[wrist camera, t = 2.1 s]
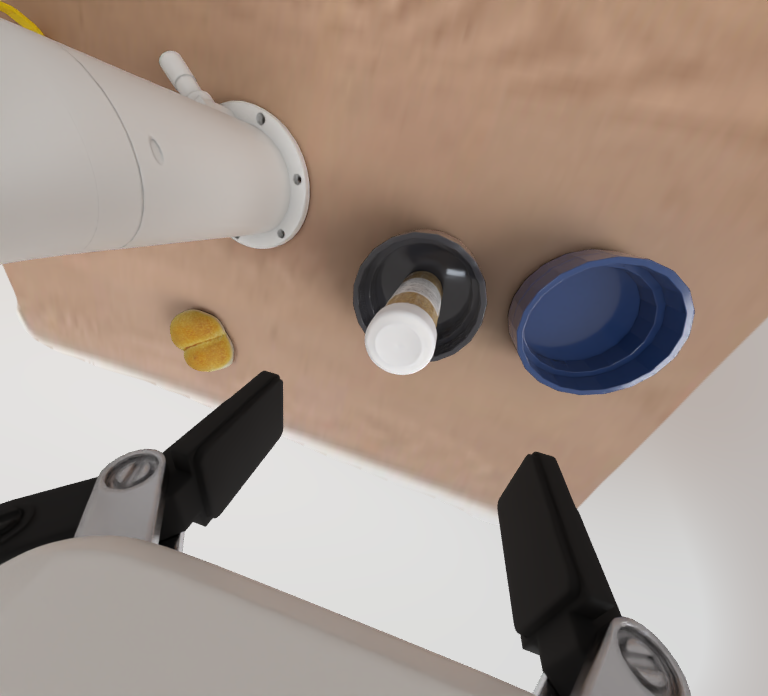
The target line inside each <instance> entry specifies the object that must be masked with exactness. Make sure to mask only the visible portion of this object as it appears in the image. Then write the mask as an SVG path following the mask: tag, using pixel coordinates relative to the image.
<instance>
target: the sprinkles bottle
mask: <svg viewBox="0 0 768 696" xmlns="http://www.w3.org/2000/svg"><path fill="white" fill-rule="evenodd" d="M442 296H443V289H442V285H441V282H440V281H439V279H438V278H437V277H436V276H435V275H433V274H432V273H430V272H427V271H417V272H414V273H411V274H410V275H409V276H407V277H406V278H405V279H404V281H403V282H402V284H401V285H400V287H399V288H398V289H397V290H396V292H395V293H394V294H393V296H392V297H391V298H390V300H389V301H388V302H387V304H386V306H385V307H384V308H382V309H381V310H380V311H379V312H378V313H377V314H376V315H375V316H374V318H373V319H372V320H371V322H370V324H369V325H368V327H367V330H366V333H365V346H366V350H367V352H368V355H369V356H370V358H371V359H372V361H373V362H374V363H375V364H376V365H377V366H378V367H380V368H381V369H383V370H385V371H387V372H389V373H393V374H398V375H407V374H412V373H415V372H417V371H419V370H421V369H423V368H424V367H425V366H426V365H427V364H428V363H429V362H430V360H431V358H432V356H433V354H434V351H435V346H436V339H437V331H436V326H437V320H438V317H439V312H440V306H441V300H442Z"/></svg>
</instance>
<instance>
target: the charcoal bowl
mask: <svg viewBox="0 0 768 696" xmlns="http://www.w3.org/2000/svg"><path fill="white" fill-rule="evenodd" d="M417 271H427V272H430V273H432V274H433V275H435V276H436V277H437V278H438V279H439V281H440V282H441V285H442V289H443V296H442V300H441V306H440V312H439V317H438V320H437V326H436V331H437V339H436V346H435V351H434V354H433V356H432V358H431V360H430V362H431V361H438V360H440V359H443V358H445V357H448V356H451V355H453V354H455V353H456V352H458V351H459V350H460V349H461V348H463V347H464V346H465V345H466V344H468V343H469V342H470V341H471V340H472V338H473V337H474V335H475V334H476V332H477V331H478V329H479V328H480V326H481V324H482V321H483V317H484V314H485V310H486V306H487V296H486V284H485V280H484V278H483V275H482V273H481V270H480V268H479V266H478V264H477V262H476V260H475V257H474V255H473V254H472V252H471V251H470V250H469V249H468V248H467V247H466V246H465V245H464V244H463V243H462V242H461V241H460V240H458V239H457V238H455V237H453V236H450V235H448V234H446V233H444V232H442V231H438V230H428V229H418V230H414V231H410V232H405V233H402V234H399V235H396V236H394V237H391V238H390V239H388V240H387V241H385V242H384V243H382V244H381V245H379V246H378V247H376V248H374V249H373V250H372V252H371V253H370V254H369V255H368V257H367V258H366V259H365V261H364V262H363V263H362V264H361V266H360V268H359V271H358V274H357V277H356V280H355V283H354V292H353V304H354V305H353V306H354V309H355V313H356V316H357V320H358V323H359V325H360V326H361V328H362V329H363V331H364V333H366V330H367V327H368V325H369V324H370V322H371V320H372V319H373V318H374V316H375V315H376V314H377V313H378V312H379V311H380V310H381V309H382V308H384V307H385V306H386V304H387V302H388V301H389V300H390V298H391V297H392V296H393V294H394V293H395V292H396V290H397V289H398V288H399V287H400V285H401V284H402V282H403V281H404V279H405V278H406V277H407V276H409V275H410V274H411V273H414V272H417Z"/></svg>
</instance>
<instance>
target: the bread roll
mask: <svg viewBox="0 0 768 696" xmlns="http://www.w3.org/2000/svg"><path fill="white" fill-rule="evenodd" d="M170 334H171V338H172V341H173V342H174V344H175V345H176V346H177V347H178V348H180V349H181V350H183V351H184V358H185V361H186V362H187V364H188V365H189V366H190V367H191V368H193V369H195V370H198V371H208V372H210V371H215V370H220V369H223V368H226V367H228V366H229V365H231V364H232V361H233V354H234V348H233V344H232V342H231V340H230V338H229V337H228V335H227V334H226V333H225V329H224V327H223V325H222V324H221V322H220V321H219V320H218V319H217V318H216V317H214V316H213V315H210V314H208V313H205V312H202V311H199V310H193V309H191V310H187V311H184V312H182V313H180V314H178V315H177V316H176V317H175V318H174V319H173V320H172V322H171V325H170Z"/></svg>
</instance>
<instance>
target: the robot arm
mask: <svg viewBox="0 0 768 696" xmlns="http://www.w3.org/2000/svg"><path fill="white" fill-rule="evenodd" d="M159 64H160V66H161V68H162V69H163V71H164V72H165V74H166V75H167V77H168V79H169V80H170V82H171V83H172V85H173V86H174V88H175V89H176V90H177V91H178V92H179V93H180V94H178V93H176V92H174V91H171V90H169V89H167V88H164V87H162V86H160V85H157V84H155V83H153V82H150V81H148V80H146V79H143V78H141V77H139V76H136V75H134V74H132V73H129V72H127V71H125V70H122V69H120V68H118V67H115V66H113V65H111V64H108V63H106V62H104V61H101V60H99V59H97V58H94V57H92V56H90V55H87V54H85V53H83V52H80V51H78V50H75V49H73V48H71V47H68V46H66V45H64V44H61V43H59V42H57V41H54V40H52V39H50V38H47V37H45V36H43V35H41V34H38V33H36V32H34V31H31V30H29V29H26V28H24V27H22V26H19V25H17V24H14V23H12V22H10V21H7V20H5V19H2V18H0V264H7V263H13V262H19V261H25V260H31V259H39V258H47V257H54V256H62V255H70V254H78V253H87V252H96V251H105V250H117V249H127V248H136V247H145V246H154V245H163V244H172V243H181V242H190V241H199V240H208V239H218V238H227V237H231V238H232V239H234V240H235V241H237V242H238V243H241V244H243V245H245V246H247V247H252V248H256V249H268V248H274V247H277V246H280V245H283V244H285V243H286V242H288V241H289V240H290V239H292V238H293V237H294V236H295V235H296V233H297V232H298V231H299V229H300V228H301V226H302V224H303V222H304V220H305V217H306V214H307V211H308V205H309V199H310V183H309V177H308V171H307V167H306V164H305V161H304V157H303V154H302V152H301V150H300V148H299V146H298V144H297V142H296V140H295V139H294V137H293V136H292V134H291V133H290V132H289V130H288V129H287V128H286V127H285V125H284V124H283V123H282V122H281V121H280V120H279V119H278V118H277V117H275V116H274V115H272V114H271V113H269V112H268V111H267V110H265V109H263V108H261V107H259V106H257V105H255V104H252V103H248V102H245V101H228V102H225V103H221V104H217V103H215V102H214V100H213V99H212V97H211V96H210V94H209V93H207V92H206V91H202V90H201V88H200V86H199V85H198V83H197V80H196V79H195V77H194V76H193V74H192V73H191V71H190V69H189V68H188V66H187V65H186V63H185V62H184V60H183V58H182V57H181V55H180V54H179V53H177V52H175V51H166V52H164V53H163V54H162V55H161V56H160V58H159ZM300 178H301V182H300ZM284 233H285V235H284ZM282 432H283V381H282V380H281V379H280V377H279V375H277V374H274V373H271V372H267V371H262V372H261V373H260V374H258V375H257V376H256V377H255V378H254V379H252V380H251V381H250V382H249V383H248V384H246V385H245V386H244V387H243V388H242V389H240V390H239V391H238V392H237V393H235V394H234V395H233V396H232V397H231V398H229V399H228V400H226V401H225V402H224V403H222V404H221V405H220V406H219V407H217V408H216V409H215V410H214V411H213V412H212V413H210V414H209V415H208V416H207V417H205V418H204V419H203V420H202V421H201V422H199V423H198V424H197V425H196V426H194V427H193V428H192V429H191V430H190V431H188V432H187V433H186V434H185V435H184V436H182V437H181V438H180V439H179V440H178V441H176V442H175V443H174V444H173V445H171V446H170V447H169V448H168V449H167V450H166V451H164V452H163V453H162V452H159V451H157V450H152V449H144V450H137V451H134V452H130V453H127V454H125V455H123V456H121V457H119V458H117V459H115V460H114V461H113V462H111V463H109V464H108V465H107V466H106V467H105V468H104V469H103V470H102V471H101V473H100V475H99V476H98V477H96V478H92V479H89V480H85V481H81V482H78V483H74V484H70V485H66V486H63V487H59V488H56V489H52V490H48V491H44V492H40V493H37V494H33V495H30V496H26V497H22V498H18V499H15V500H11V501H8V502H5V503H2V504H0V696H691V694H690V690H689V687H688V684H687V681H686V679H685V676H684V674H683V673H682V671H681V669H680V667H679V665H678V663H677V662H676V660H675V659H674V658H673V656H672V655H671V653H670V652H669V651H668V649H667V648H666V647H665V646H664V645H663V644H662V642H661V641H660V640H659V639H658V638H657V637H656V636H655V635H654V634H653V633H652V632H650V631H649V630H648V629H646V628H645V627H644V626H643V625H642V624H640V623H638V622H636V621H635V620H633V619H630V618H626V617H622V616H621V614H620V611H619V609H618V606H617V604H616V602H615V599H614V597H613V594H612V592H611V589H610V587H609V584H608V582H607V580H606V577H605V575H604V572H603V570H602V568H601V565H600V563H599V560H598V558H597V555H596V553H595V551H594V548H593V546H592V543H591V541H590V538H589V536H588V533H587V531H586V529H585V526H584V524H583V521H582V519H581V517H580V514H579V512H578V510H577V508H576V507H575V505H574V502H573V500H572V498H571V495H570V493H569V490H568V488H567V485H566V483H565V480H564V478H563V475H562V473H561V471H560V468H559V466H558V463H557V461H556V459H555V458H554V457H552V456H549V455H546V454H542V453H539V452H534V453H533V454H532V455H531V454H528V455H527V456H526V457H525V459H524V460H523V462H522V464H521V465H520V467H519V468H518V470H517V472H516V473H515V475H514V476H513V478H512V479H511V481H510V483H509V484H508V486H507V487H506V489H505V490H504V492H503V494H502V495H501V497H500V498H499V501H498V516H499V523H500V530H501V537H502V544H503V551H504V558H505V565H506V572H507V579H508V586H509V592H510V600H511V606H512V614H513V620H514V626H515V629H516V631H517V633H519V634H521V641H522V647H523V649H525V650H527V651H530V652H533V653H535V654H538V655H540V659H541V664H542V669H543V674H542V676H541V678H540V680H539V682H538V684H537V686H536V688H535V690H534V692H533V694H532V693H529V692H527V691H525V690H522V689H520V688H518V687H515V686H513V685H511V684H509V683H506V682H504V681H501V680H499V679H497V678H495V677H492V676H490V675H488V674H485V673H483V672H480V671H478V670H475V669H473V668H471V667H468V666H465V665H463V664H461V663H458V662H456V661H453V660H451V659H448V658H446V657H443V656H441V655H439V654H436V653H434V652H431V651H429V650H426V649H424V648H422V647H419V646H417V645H414V644H412V643H409V642H407V641H404V640H402V639H399V638H397V637H394V636H392V635H390V634H387V633H385V632H382V631H379V630H377V629H375V628H372V627H370V626H367V625H365V624H362V623H360V622H357V621H355V620H352V619H350V618H347V617H345V616H342V615H340V614H337V613H335V612H332V611H330V610H327V609H325V608H322V607H320V606H318V605H315V604H312V603H310V602H308V601H305V600H302V599H300V598H297V597H295V596H293V595H290V594H288V593H285V592H282V591H280V590H277V589H275V588H272V587H270V586H267V585H265V584H262V583H260V582H257V581H254V580H252V579H250V578H247V577H245V576H242V575H240V574H237V573H234V572H232V571H229V570H227V569H224V568H221V567H219V566H217V565H214V564H211V563H209V562H206V561H203V560H200V559H198V558H195V557H193V556H190V555H187V554H184V553H182V551H183V540H184V531H186V529H187V528H188V527H189V526H190V524H191V523H192V522H195V523H198V524H200V525H203V526H207V524H208V523H209V522H210V520H211V519H212V518H217V517H218V516H219V515H220V514H221V513H222V512H223V510H224V509H225V508H226V507H227V505H228V504H229V503H230V502H231V500H232V499H233V498H234V496H235V495H236V494H237V493H238V491H239V490H240V489H241V487H242V486H243V485H244V483H245V482H246V481H247V480H248V478H249V477H250V476H251V474H252V473H253V472H254V471H255V469H256V468H257V467H258V465H259V464H260V463H261V461H262V460H263V459H264V458H265V456H266V455H267V454H268V452H269V451H270V450H271V449H272V447H273V446H274V445H275V443H276V442H277V441H278V440H279V438H280V437H281V435H282Z"/></svg>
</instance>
